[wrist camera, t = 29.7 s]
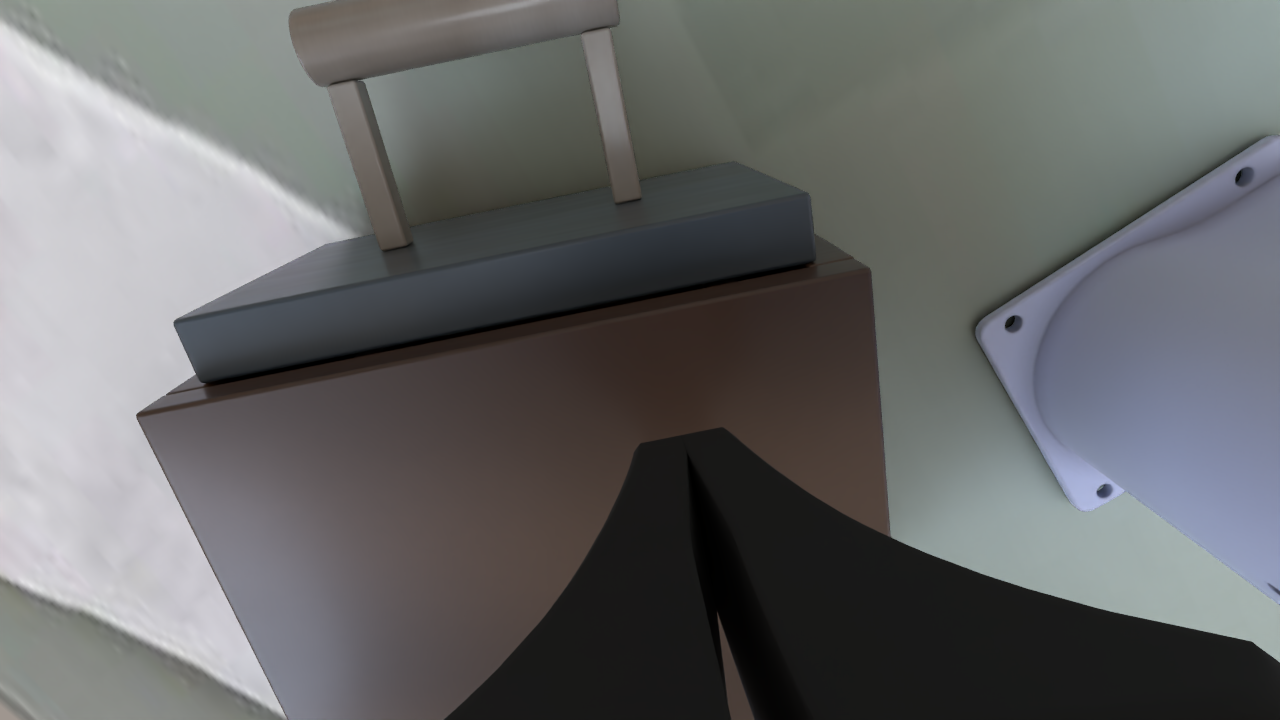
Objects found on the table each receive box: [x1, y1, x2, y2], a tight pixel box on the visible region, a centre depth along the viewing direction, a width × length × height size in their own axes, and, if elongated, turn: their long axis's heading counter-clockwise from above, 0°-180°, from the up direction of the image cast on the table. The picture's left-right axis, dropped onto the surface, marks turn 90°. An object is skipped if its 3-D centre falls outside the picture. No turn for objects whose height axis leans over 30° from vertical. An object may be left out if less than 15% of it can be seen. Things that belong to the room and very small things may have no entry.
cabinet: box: [136, 233, 891, 720], centre depth 17 cm, size 14×12×9 cm
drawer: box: [174, 0, 816, 383], centre depth 16 cm, size 17×11×7 cm, turn 11°
